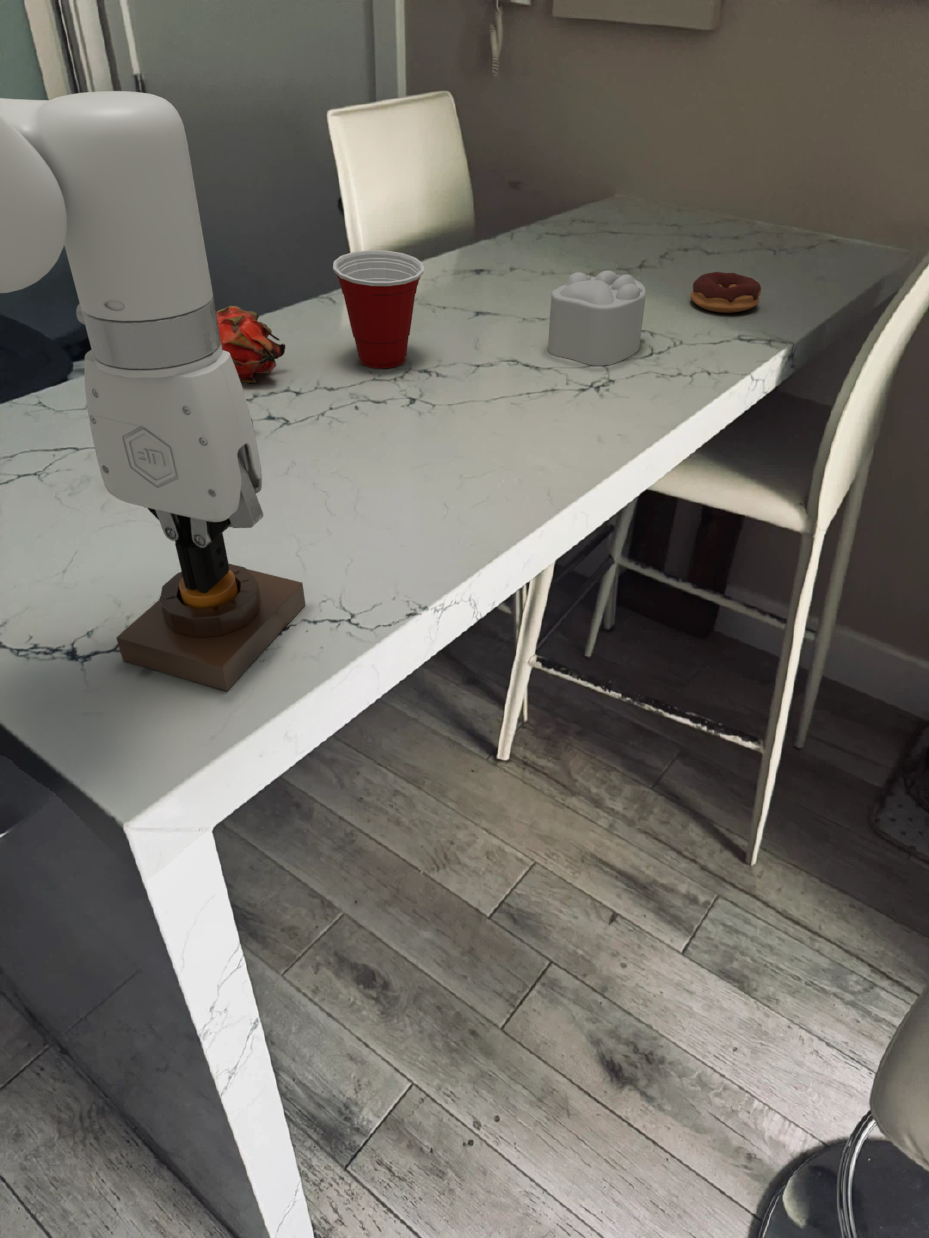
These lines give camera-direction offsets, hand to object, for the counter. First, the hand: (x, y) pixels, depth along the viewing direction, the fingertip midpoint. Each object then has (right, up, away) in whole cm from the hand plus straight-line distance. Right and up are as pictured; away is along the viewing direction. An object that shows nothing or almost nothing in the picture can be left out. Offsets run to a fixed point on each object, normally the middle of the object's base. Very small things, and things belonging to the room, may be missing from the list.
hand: (208, 580), depth 64 cm
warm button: (0, -1, +1) cm, 2 cm away
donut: (+57, +43, +64) cm, 96 cm away
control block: (0, -4, +3) cm, 5 cm away
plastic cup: (+9, +30, +46) cm, 56 cm away
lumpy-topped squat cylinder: (+36, +33, +51) cm, 71 cm away
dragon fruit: (-8, +27, +43) cm, 51 cm away
